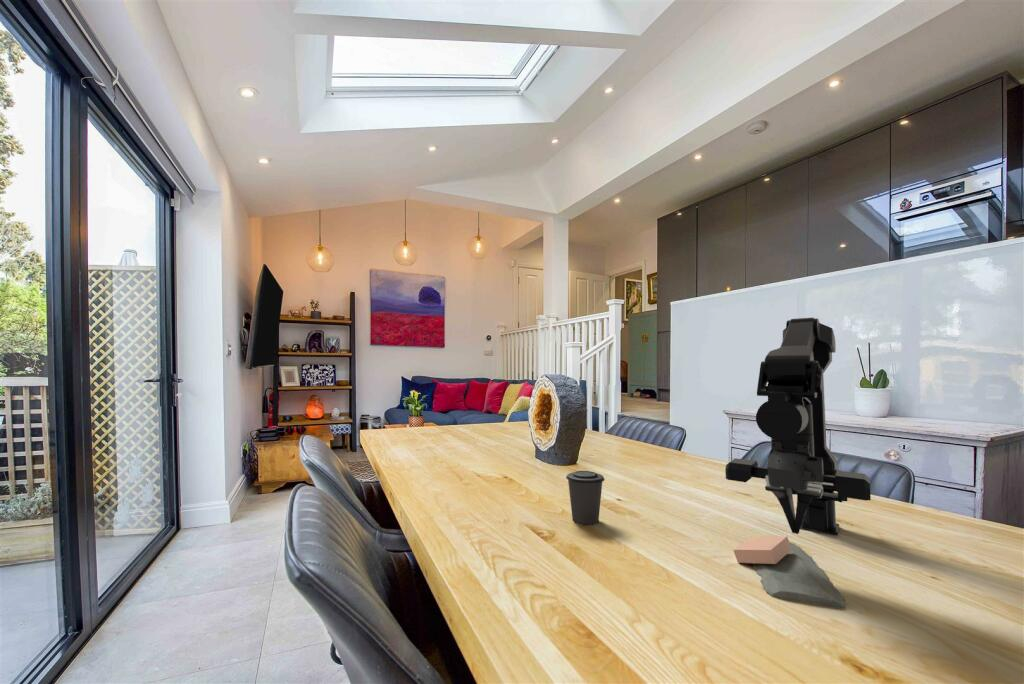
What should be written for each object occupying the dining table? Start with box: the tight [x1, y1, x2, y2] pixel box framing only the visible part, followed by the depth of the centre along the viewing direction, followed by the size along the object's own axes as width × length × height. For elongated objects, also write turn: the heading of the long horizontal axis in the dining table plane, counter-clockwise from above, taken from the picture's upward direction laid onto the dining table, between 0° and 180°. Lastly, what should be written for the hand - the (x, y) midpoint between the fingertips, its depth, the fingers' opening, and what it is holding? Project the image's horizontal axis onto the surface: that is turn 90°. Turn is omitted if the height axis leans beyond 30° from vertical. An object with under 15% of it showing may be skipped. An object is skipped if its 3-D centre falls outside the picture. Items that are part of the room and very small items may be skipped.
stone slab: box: [752, 541, 847, 610], centre depth 68 cm, size 22×3×10 cm
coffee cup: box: [565, 470, 606, 526], centre depth 90 cm, size 8×8×10 cm
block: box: [733, 535, 792, 564], centre depth 70 cm, size 2×7×6 cm
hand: (795, 532), depth 67 cm, fingers closed
